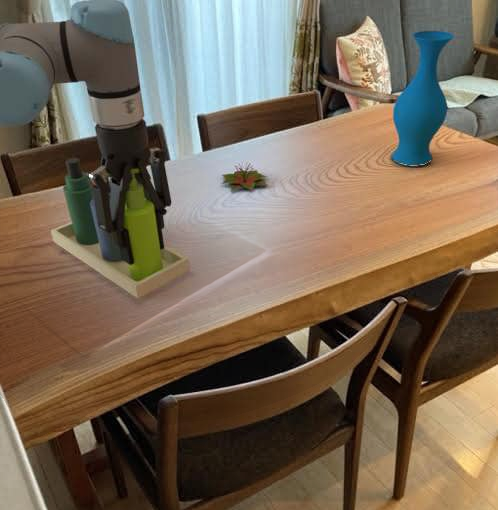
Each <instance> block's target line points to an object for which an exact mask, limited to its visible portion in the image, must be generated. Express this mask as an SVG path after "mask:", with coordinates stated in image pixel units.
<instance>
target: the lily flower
mask: <svg viewBox="0 0 498 510" xmlns="http://www.w3.org/2000/svg"><path fill="white" fill-rule="evenodd" d="M243 163H244V162H241V164H242V165H244V164H243ZM237 164H238V166H239V167H238V166H237V165H234V167H235V169H236V171H234V172H233V173H226V174H221V176H222V177H223V178H224V180H223V182H221V183H220V185H225V184H230V185H229V187H230V191H231V192H234V191H236V190H240V189H242V188H246V189H248V190H250V191H251V192H253V190H254V187H256V186H269V184H268V183H267V182H266V181H265V180H263V178H264V179H265V178H267V176H266V175H264V174H262V173H260V172H259V171H258V169H254V166H253V165H252V166H251V163H249V164H248V162H246V164H245V166H246V167H245V168H243V167H242V165H241V164H240V163H237ZM247 165H248V166H247ZM244 169H245V170H244Z"/></svg>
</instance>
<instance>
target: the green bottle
mask: <svg viewBox="0 0 498 510" xmlns="http://www.w3.org/2000/svg"><path fill="white" fill-rule="evenodd" d="M80 161H81V160H80V158H78V157H70V158H67V159H66V160H65V165H66V169H67V173H68V174H66V175H65V177H64V180H65V185H63V188H62V190H63V194H64V197H65V202H66V206H67V209H68V212H69V217H70V220H71V221H70V222H72V225H73V229H74V232H75V236H76V240H77V242H78V243H79V244H82V245H93V244H96V243H99V240H98V236H97V232H96V227H95V223H94V219H93V214H92V210H91V206H90V202H91V200H92V199H94V198H93V193H92V192H93V190H92V185H91V183H90V182H89V180H88V178H87V176H86V174H87V172H85V171H83V170H82V166H81V162H80Z"/></svg>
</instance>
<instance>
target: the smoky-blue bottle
mask: <svg viewBox="0 0 498 510" xmlns="http://www.w3.org/2000/svg"><path fill="white" fill-rule="evenodd" d="M106 180H107V182H106V183H105V184H106V186H107V190H108V196H109V203H110V194H111V187H110V184H109V182H110V177H109V178H107V177H106ZM92 193H93V192H92ZM93 198H94V196H93ZM90 206H91V210H92V214H93V219H94V223H95V227H96V232H97V236H98V240H99V244H100V249H101V253H102V257H103V259H104V260H106V261H109V262H120V261H123V260H122V259H121V255H120V250H119V248H118V247H116V246H115V245H114V242H113V237H112V233H107V232H106V231H104V230H102V229H101V228H99V226H98V221H97V215H96V209H95V203H94V199H92V200H91V202H90Z"/></svg>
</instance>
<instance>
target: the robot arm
mask: <svg viewBox="0 0 498 510" xmlns="http://www.w3.org/2000/svg"><path fill="white" fill-rule="evenodd" d="M70 7H71V8H70V13H71V15H70V19H66V20H61V21H47V22H43V21H42V22H24V23H22V22H21V23H20V22H19V23H12V22H5V23H3V24H0V124H1V125H4V126H9V127H20V126H24V125H28V124H30V123H32V122H33V121H34V120H35V119H37V118H38V116H39V115H40V114H41V112H42V111H43V110H44V109H45V107H46V105H47V104H49V102H50V101H49V100H50V97H51V92H52V89H53V88H54V85H57V84H70V83H71V84H72V83H73V84H75V83H80V82H81V83H82V82H84V83H85V86H86V91H87V95H88V100H89V106H90V111H91V117H92V120H93V122H94V123H95V126H94V130H95V135H96V139H97V145H98V148H99V151H100V153H101V160H100V166H99V167H98V168H96V169H95V170H94V171H93V170H87V171H86V176H87V178H88V180H89V182H90V183H91V185H92V190H93V196H94V203H95V209H96V215H97V221H98V226H99V228H101V229H102V230H104V231H106V232H107V233H112V237H113V242H114V245H115V246H116V247H118V248H119V250H120V255H121V259H122V260H123V261H125V262H126V263H128V264H130V265H132V264H134V259H133V254H132V249H131V244H130V238H129V233H128V230H127V229H125V228H123V225H124V213H125V201H126V192H127V191H128V188H129V183H131V182H132V179H133V176H132V173H131V169H134V168H139V173H134V176H135V179H136V180H137V183H140V184H142V185H143V189H144V195H145V200H149V201H151V202H152V203H153V204H154V210H155V217H156V223H157V230H158V237H159V244H160V249H161V250H162V249H164V245H165V242H164V237H163V235H164V234H163V229H165V219H164V216H165V215H166V214H167V212H168V210H167V207H171V206H172V196H171V191H170V187H169V181H168V175H167V170H166V155H167V154H166V153H167V152H166V151H165V150H163V149H161V148H159V147H156V146H152V147H151V148H150V147H149V135H148V129H147V122H146V121H145V119H144V117H145V108H144V103H143V96H142V89H141V82H140V75H139V67H138V59H137V51H136V44H135V37H134V33H133V27H132V22H131V17H130V12H129V9H128V7H127V6H126V4H124V2H122V1H120V0H80V1H77V2H75V3H73V4H72V5H71V6H70ZM148 164H149V165H150V166H149V167H150V171H151V175H150V173H149V171H148V168H147V167H148ZM106 174H110V175H111V176H112V177H109V184H110V187H111V194H110V203H109V196H108V190H107V186H106V184H105V183H106V182H107V180H106ZM151 176H152V177H151Z"/></svg>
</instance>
